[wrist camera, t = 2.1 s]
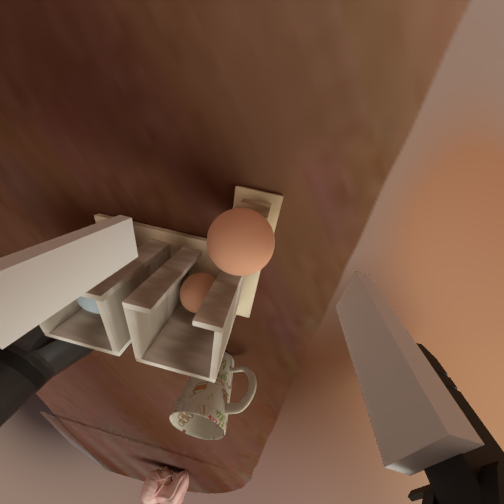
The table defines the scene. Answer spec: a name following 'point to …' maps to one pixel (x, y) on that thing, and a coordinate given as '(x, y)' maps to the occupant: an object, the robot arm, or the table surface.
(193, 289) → the terracotta ball in tube
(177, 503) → the figurine
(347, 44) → the table surface
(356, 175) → the table surface
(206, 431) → the mug
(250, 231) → the terracotta ball
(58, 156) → the table surface
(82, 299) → the grey ball upper
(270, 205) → the stand
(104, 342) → the rack
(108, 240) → the robot arm
